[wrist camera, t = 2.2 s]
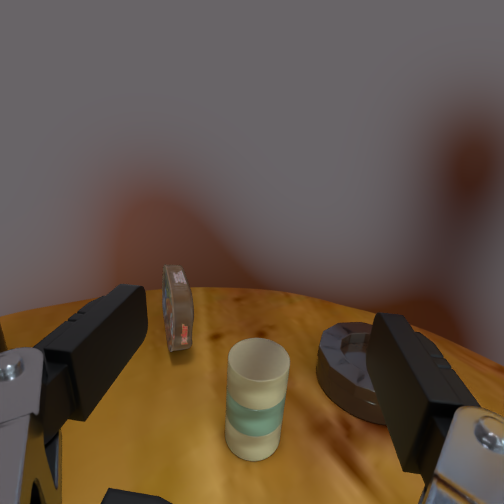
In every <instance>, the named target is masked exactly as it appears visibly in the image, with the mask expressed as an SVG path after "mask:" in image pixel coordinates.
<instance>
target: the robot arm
mask: <svg viewBox="0 0 504 504" xmlns="http://www.w3.org/2000/svg"><path fill="white" fill-rule="evenodd" d="M147 329H148V318H147V305H146V293H145V289H144V287H143V286H137V285H128V284H120V285H118V286H117V287H116V288H114V290H112V291H111V292H110V293H109V294H107V295H106V296H102V297H100V298H98V299H96V300H93V301H91V302H89V303H88V304H86V305H85V306H84V307H83V308H81V309H80V310H79V311H78V312H77V314H76V313H75V314H74V315H73V316H71V317H70V318H69V319H68V321H65V322H64V323H63V324H61V325H60V326H59V327H58V328H56V329H55V330H54V331H53V332H51V333H50V334H49V335H48V336H46V337H45V338H44V339H43V340H41V341H40V342H39V343H38V344H36V345H35V346H34V347H33V348H30V347H23V348H16V349H11V350H8V349H7V346H6V342H5V339H4V335H3V331H2V328H1V324H0V504H62V432H61V427H62V426H63V424H64V423H65V422H66V421H67V419H70V420H77V421H84V422H85V421H86V419H87V418H88V417H89V415H90V414H91V412H92V411H93V410H94V408H95V407H96V406H97V404H98V403H99V401H100V400H101V399H102V397H103V396H104V395H105V393H106V392H107V390H108V389H109V388H110V386H111V385H112V384H113V382H114V381H115V379H116V378H117V377H118V375H119V374H120V373H121V371H122V370H123V368H124V367H125V366H126V364H127V363H128V362H129V360H130V359H131V357H132V356H133V355H134V353H135V352H136V351H137V349H138V348H139V346H140V345H141V344H142V342H143V341H144V339H145V337H146V334H147ZM366 367H367V371H368V374H369V377H370V380H371V382H372V385H373V388H374V391H375V394H376V397H377V399H378V402H379V405H380V408H381V411H382V413H383V416H384V419H385V422H386V425H387V428H388V430H389V433H390V436H391V439H392V442H393V444H394V447H395V450H396V453H397V456H398V459H399V461H400V464H401V467H402V470H403V472H409V473H415V474H421V476H422V478H423V480H424V483H425V486H424V489H423V491H422V494H421V496H420V499H419V502H418V504H504V417H502V416H500V415H499V414H497V413H494V412H492V411H490V410H487V409H485V408H481V406H480V405H479V404H478V402H477V401H476V399H475V398H474V397H473V395H472V394H471V393H470V391H469V390H468V389H467V387H466V386H465V385H464V383H463V382H462V380H461V379H460V378H459V376H458V375H457V374H456V372H455V371H454V370H453V369H451V366H450V364H449V363H448V362H447V360H446V359H445V358H443V355H442V353H441V352H440V351H439V349H438V348H437V347H436V345H435V344H434V343H433V342H432V341H430V340H429V339H428V338H426V337H425V336H424V335H423V334H421V333H420V332H414V330H413V329H412V327H411V326H410V324H409V323H408V322H407V320H406V319H405V317H404V316H403V315H398V314H388V313H377V314H376V315H375V318H374V322H373V326H372V330H371V334H370V338H369V342H368V346H367V351H366ZM101 504H172V503H170V502H168V501H167V500H165V499H163V498H161V497H159V496H153V495H147V494H142V493H136V492H130V491H124V490H118V489H112V488H108V490H107V492H106V494H105V496H104V498H103V500H102V502H101Z"/></svg>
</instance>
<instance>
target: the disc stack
mask: <svg viewBox="0 0 504 504" xmlns="http://www.w3.org/2000/svg"><path fill="white" fill-rule="evenodd" d="M289 368H290V358H289V355H288V353H287V352H286V350H285V349H284V348H283V347H282V346H280V345H279V344H277V343H276V342H273V341H271V340H268V339H263V338H250V339H245V340H242V341H240V342H238V343H237V344H235V345H234V346H233V347H232V348H231V350H230V352H229V354H228V371H227V395H226V420H225V439H226V442H227V445H228V447H229V448H230V450H231V451H232V452H233V453H234V454H235V455H237V456H238V457H240V458H242V459H244V460H248V461H260V460H263V459H265V458H267V457H269V456H270V455H272V454H273V453H274V451H275V450H276V449H277V447H278V444H279V441H280V434H281V426H282V419H283V412H284V404H285V397H286V390H287V382H288V375H289Z"/></svg>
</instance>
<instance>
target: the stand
mask: <svg viewBox="0 0 504 504" xmlns="http://www.w3.org/2000/svg"><path fill="white" fill-rule="evenodd" d="M372 326H373V325H371V324H367V323H363V322H350V323H338V324H336V325H334V326H332V327H330V328H328V329H327V330H325V331H323V334H322V337H321V341H320V345H319V349H318V355H317V356H318V359H317V365H316V374H317V378H318V381H319V383H320V385H321V387H322V389H323V390H324V391H325V393H326V394H327V395H328V396H329V397H330V399H331V400H333V401H334V402H335V403H336V404H337V405H338V406H340V407H341V408H342V409H344V410H345V411H347V412H349V413H350V414H352V415H354V416H356V417H358V418H361V419H363V420H366V421H369V422H372V423H377V424H382V425H386V422H385V419H384V416H383V413H382V411H381V408H380V405H379V402H378V399H377V397H376V394H375V391H374V388H373V385H372V382H371V380H370V377H369V374H368V371H367V367H366V351H367V346H368V342H369V338H370V334H371V330H372Z"/></svg>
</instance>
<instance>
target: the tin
mask: <svg viewBox="0 0 504 504" xmlns="http://www.w3.org/2000/svg"><path fill="white" fill-rule="evenodd" d="M162 283H163V284H162V286H163V287H162V291H163V315H164V322H165V329H166V336H167V343H168V349H169V351H170V352H172V351H175V350H183V349H188V348H190V347H191V345H192V326H193V320H194V308H193V298H192V293H191V289H190V286H189V283H188V280H187V277H186V274H185V272H184V270H183V267H182V266H181V265H164V267H163V282H162Z"/></svg>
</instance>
